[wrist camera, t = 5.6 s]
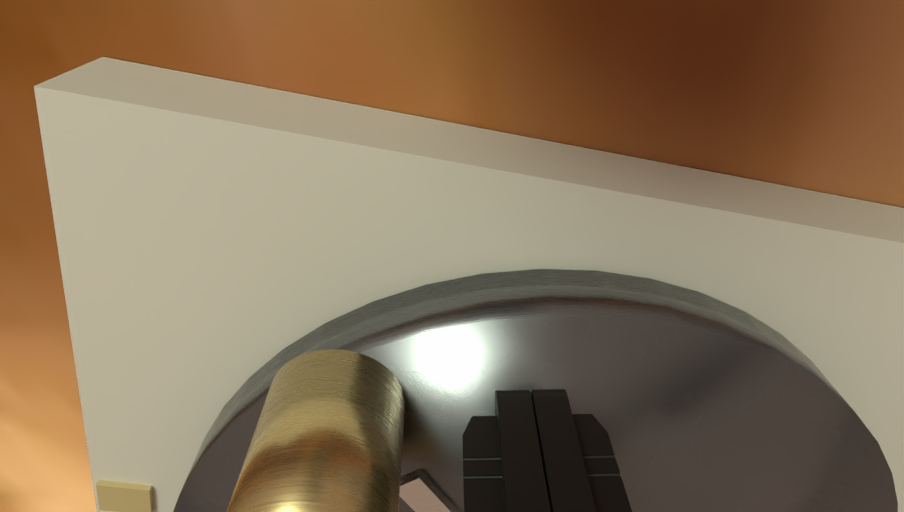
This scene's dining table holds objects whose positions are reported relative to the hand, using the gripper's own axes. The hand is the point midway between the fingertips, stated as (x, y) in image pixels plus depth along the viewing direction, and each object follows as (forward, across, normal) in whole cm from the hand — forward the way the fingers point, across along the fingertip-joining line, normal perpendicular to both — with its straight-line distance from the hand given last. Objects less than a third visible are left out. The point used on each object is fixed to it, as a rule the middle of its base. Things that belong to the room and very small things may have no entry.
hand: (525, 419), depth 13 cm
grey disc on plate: (+7, 0, +9) cm, 11 cm away
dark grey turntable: (+3, -1, +9) cm, 10 cm away
